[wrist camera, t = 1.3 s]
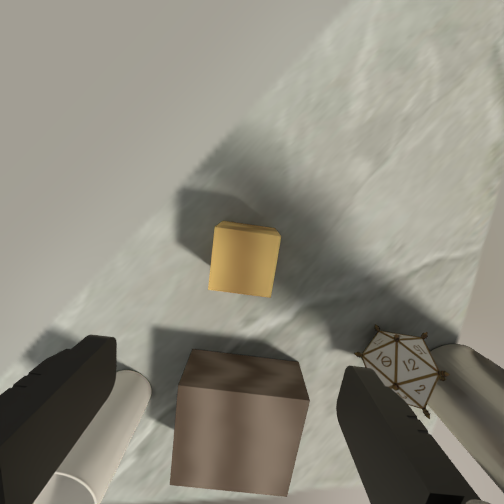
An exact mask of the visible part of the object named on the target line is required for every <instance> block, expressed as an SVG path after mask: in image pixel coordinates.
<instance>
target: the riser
mask: <svg viewBox="0 0 504 504" xmlns="http://www.w3.org/2000/svg"><path fill="white" fill-rule="evenodd" d="M309 402H310V399H309V396H308V393H307V389H306V386H305V382H304V379H303V375H302V372H301V369H300V365H299V362H295V361H287V360H278V359H270V358H262V357H254V356H246V355H237V354H229V353H221V352H213V351H205V350H197V349H192V351H191V354H190V357H189V359H188V362H187V364H186V367H185V369H184V372H183V374H182V377H181V380H180V382H179V385H178V394H177V406H176V418H175V429H174V441H173V453H172V465H171V477H170V485H176V486H185V487H195V488H205V489H215V490H225V491H235V492H245V493H255V494H265V495H274V496H284V497H287V494H288V490H289V486H290V482H291V477H292V473H293V469H294V465H295V461H296V456H297V452H298V448H299V444H300V440H301V436H302V431H303V427H304V423H305V419H306V415H307V410H308V406H309Z"/></svg>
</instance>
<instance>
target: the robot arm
mask: <svg viewBox="0 0 504 504" xmlns="http://www.w3.org/2000/svg"><path fill="white" fill-rule="evenodd" d="M116 348H117V344H116V339H115V338H114V337H107V336H98V335H88V336H87V337H85V338H84V339H83V340H82V341H80V342H79V343H78V344H77V345H76V346H74V347H73V348H72V349H65V350H63V351H61V352H59V353H57V354H55V355H53V356H51V357H49V358H47V359H46V360H44V361H43V362H42V363H40V364H39V365H38V366H37V367H35V368H34V369H33V370H32V371H30V372H29V374H28V375H27V376H24V377H23V378H21V379H20V380H19V381H18V382H16V383H15V384H14V385H13V387H12V388H9V389H7V390H6V391H5V392H4V393H2V394H1V395H0V504H33V503H34V501H35V500H36V498H37V497H38V496H39V494H40V493H41V491H42V490H43V489H44V487H45V486H46V484H47V483H48V482H49V480H50V479H51V477H52V476H53V475H54V473H55V472H56V470H57V469H58V468H59V466H60V465H61V463H62V462H63V460H64V459H65V458H66V456H67V455H68V453H69V452H70V451H71V449H72V448H73V446H74V445H75V444H76V442H77V441H78V439H79V438H80V437H81V435H82V434H83V432H84V431H85V430H86V428H87V427H88V425H89V424H90V423H91V421H92V420H93V418H94V417H95V416H96V414H97V413H98V411H99V410H100V409H101V407H102V406H103V404H104V403H105V402H106V400H107V399H108V397H109V396H110V394H111V392H112V390H113V387H114V384H115V380H116ZM430 353H431V355H432V357H433V359H434V361H435V363H436V365H437V367H438V369H439V371H441V370H442V371H444V370H445V371H446V372H447V373H448V374H450V375H449V376H447V377H445V378H446V379H447V380H445V381H442V380H441V381H440V380H439V379H438V381H437V383H436V386H435V388H434V390H433V392H432V394H431V397H430V399H429V401H428V403H427V404H428V406H429V407H430V408H431V409H432V410H433V411H434V413H435V414H436V415H437V416H438V417H439V418H440V419H441V421H442V422H443V423H444V424H445V426H446V427H447V428H448V429H449V430H450V431H451V433H452V434H453V435H454V436H455V437H456V438H457V439H458V441H459V442H460V443H461V444H462V445H463V446H464V448H465V449H466V450H467V451H468V452H469V453H470V455H471V456H472V457H473V458H474V459H475V460H476V462H477V463H478V464H479V465H480V466H481V467H482V469H483V470H484V471H485V472H486V473H487V474H488V476H489V477H490V478H491V479H492V480H493V481H494V482H495V484H496V485H497V486H498V487H499V488H500V489H501V491H502V492H503V493H504V369H503V368H501V367H500V366H498V365H497V364H495V363H494V362H492V361H491V360H489V359H487V358H485V357H484V356H482V355H481V354H479V353H478V352H476V351H475V350H473V349H472V348H470V347H468V346H465V345H460V344H449V345H444V346H441V347H438V348H436V349H434V350H432V351H431V352H430ZM336 410H337V418H338V422H339V425H340V427H341V430H342V432H343V435H344V437H345V440H346V442H347V445H348V447H349V450H350V452H351V455H352V457H353V460H354V462H355V465H356V468H357V470H358V473H359V475H360V478H361V480H362V483H363V485H364V488H365V490H366V493H367V495H368V498H369V500H370V503H371V504H490V503H488V502H485V501H482V500H481V499H480V498H479V497H478V495H477V494H476V493H475V492H474V490H473V489H472V488H471V487H470V485H469V484H468V482H467V481H466V480H465V479H464V477H463V476H462V475H461V473H460V472H459V471H458V469H457V468H456V467H455V466H454V464H453V463H452V462H451V460H450V459H449V458H448V456H447V455H446V454H445V452H444V451H443V450H442V449H441V447H440V446H439V445H438V443H437V442H436V441H435V439H434V438H433V437H432V435H431V434H428V430H427V429H426V428H425V426H424V425H423V424H422V422H421V421H420V420H418V419H417V416H416V415H415V413H414V412H413V411H412V409H411V408H410V407H409V405H408V404H407V403H406V402H405V400H404V399H402V398H401V397H400V396H399V395H398V394H397V393H395V392H394V391H393V390H392V389H391V388H390V387H388V386H385V385H384V384H383V382H382V381H381V379H380V378H379V377H378V375H377V374H376V373H375V371H374V370H373V369H371V368H365V367H356V366H348V367H347V368H346V370H345V373H344V377H343V381H342V384H341V388H340V392H339V395H338V399H337V406H336Z"/></svg>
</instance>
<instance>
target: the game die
mask: <svg viewBox="0 0 504 504" xmlns="http://www.w3.org/2000/svg"><path fill="white" fill-rule="evenodd" d="M375 329H376V330H377V331H378V332H377V334H376V335H375V337H374V338H373V339H372V341H371V342H370V344H369V345H368V346H367V348H366V349H365V351H364V352H363V353H362V354H361V353H360V352H356V353H354V354H355V355H356V356H357V357H362V359H363V362H364V365H365V368H371V369H373V370H374V371H375V373H376V374H377V375H378V377H379V378H380V379H381V381H382V382H383V384H384V385H385V386H388V387H390V388H391V389H392V390H393V391H394V392H395V393H397V394H398V395H399V396H400V397H401V398H402V399H404V400H405V402H406V403H407V404H408V405H411V406H414V407H417V408H421V409H422V410H423V413H424V414H425V416H426V417H427V418H429V419H430V414H429V412H428V411H427V410H426V405H427V403H428V401H429V399H430V397H431V394H432V392H433V390H434V388H435V386H436V383H437V381H438V379H439V380H440V381H441V380H442V381H445V380H447V379H446V378H445V377H447V376H449V375H450V374H448V373H447V372H446V371H445V370H444V371H442V370H441V371H439V369H438V367H437V365H436V363H435V361H434V359H433V357H432V355H431V353H430V351H429V349H428V347H427V345H426V343H425V341H424V339H425V338H426V337H428V336H427V332H426V333H423V334H422V335H421V337H416V336H410V335H403V334H397V333H391V332H385V331H380V328H379V326H377V325H375Z"/></svg>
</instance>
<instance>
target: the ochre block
mask: <svg viewBox="0 0 504 504" xmlns="http://www.w3.org/2000/svg"><path fill="white" fill-rule="evenodd" d="M280 241H281V235H280V234H279V233H278V232H277V230H276V229H275V228H271V227H264V226H257V225H249V224H242V223H235V222H228V221H222V222H220V223H219V224H218V225H217V226H215V230H214V239H213V249H212V258H211V267H210V277H209V286H208V290H215V291H223V292H231V293H238V294H246V295H253V296H261V297H269V298H271V293H272V287H273V281H274V275H275V270H276V264H277V258H278V252H279V246H280Z"/></svg>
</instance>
